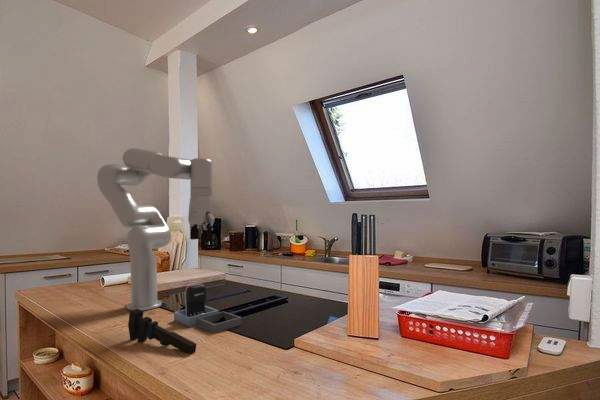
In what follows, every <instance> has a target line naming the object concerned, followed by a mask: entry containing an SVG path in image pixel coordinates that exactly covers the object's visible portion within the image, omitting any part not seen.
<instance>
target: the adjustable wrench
mask: <svg viewBox="0 0 600 400" xmlns="http://www.w3.org/2000/svg"><path fill="white" fill-rule="evenodd" d="M128 314H129V317H128V321H127V322H128V325H127V326H128V334H129V340H130V341H136V340H137V342H138V343H141V342H144V341H146V340H147V339H148V340H149V341H151V340H157V341H159V345H162V346H164V347H168V346H171V347H173V348H176V349H177V350H179V351H181V352H183V354H186V355H192V354H194V353H196V350H197V343H196V342H194V341H192V340H190V339H188V338H186V337H184V336H182V335H180V334H178V333H176V332H175V331H169V330H167V329H166V328H164V327H162V326H160V325H159V322H158V321H157V320H154V321H153V318H151V317H150V316H145V317H144V310H140V309H135V310H129V313H128Z"/></svg>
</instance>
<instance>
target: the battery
mask: <svg viewBox="0 0 600 400" xmlns="http://www.w3.org/2000/svg"><path fill="white" fill-rule="evenodd" d="M207 294H208V292H207V286H206V285H205V284H202V283H197V284H191V285H188V286H186V287H185V288H184V305H185V306H184V307H185V309H186V316H188V317H192V316H196V315H200V314H204V313H205V306H206V300H207V298H208V295H207Z"/></svg>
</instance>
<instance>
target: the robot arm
mask: <svg viewBox="0 0 600 400" xmlns="http://www.w3.org/2000/svg"><path fill="white" fill-rule="evenodd" d="M122 161H123V164H119V163H118V164H117V163H110V164H109V163H108V164H105V165H102V166H101V167H100V168H99V170H98V172H97V176H96V177H97V178H96V180H97V181H96V183H97V187H98V188H99V191H100V192H101V193H102V195H103V196H104V198H105V200H107V201H108V203H109V204H110V206H111V208H112V210H113V212H114V213H115V216H116V217H117V219H118V221H119V222H120V223H121V225H122V226H123V227H125V228H127V229H130V230H129V231H128V233H127V236H126V242H127V247H128V252H129V260H130V261H129V262H130V264H129V266H130V267H129V268H130V300H131V301H130V302H129V303H127V305H126V310H128V311H132V310H135V309H140V310H142V311H148V310H152V309H156V308H159V307H161V306H162V304H163V303H162V301H161V300H160V299H158V262H157V257H156V255H155V253H154V251H153V250H154V249H159V248H164V247H167V246H168V245H169V244H171V243H170V242H171V240H172V233H171V230H170V228H169V226H168V225H167V223H166V221H165V219H164V218H163V216H162V215H161V213H160V211H159V210H158V209H157V208H156V207H155V206H153V205H151V204H142V203H141V204H140V203H138V202H137V201H135V199H134V198H133V196H132V195H131V193H130V192H129V191H128V190H127V189H125V188H124V187H123V186H132V187H133V186H138V185H140V184H142V183H143V182H144V181H145V180H147V178H149V177H150V176H151V175H154V176H159V177H164V178H169V179H177V180H180V179H181V180H190V186H189V187H190V194H189V195H190V196H189V197H190V198H189V206H188V223H189V231H190V232H189V233H190V234H189V236H190V237H189V239H190V240H199V239H200V228H199V227H200V226H201V225H202V227H203V229H204V230H202V232H203V233H202V238H203V239H202V241H203V243H209V242H213V230H214V225H215V224H214V223H215V217H214V214H213V199H212V197H213V163H212V162H213V161H212V160H211V159H209V158H205V157H197V158H196V157H195V158H193V159H189V158H183V157H176V156H175V157H174V156H169V155H163V154H162V153H161V152H159V151H153V150H151V149H149V150H148V149H144V148H139V147H138V148H136V147H133V148H128V149H127V150H125V151H124V153H123V155H122Z"/></svg>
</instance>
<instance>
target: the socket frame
mask: <svg viewBox="0 0 600 400" xmlns="http://www.w3.org/2000/svg"><path fill="white" fill-rule="evenodd" d="M222 317H224V318H225V321H222V322H219V321H221V320H220V319H221V318H222ZM242 318H243V317H242V316H238V315H236V314H234V313H230V312H228V311H227V312H226V311H219V313H215V314H211V315H208V316H204V317H200V318H197V325H196V326H197V327H198V328H201V329H203V330H206V331H208V332H211V333H212V334H217V333H220V332H222V331H227V330H230V329H233V328H236V327H240V326H242V325H243V323H242ZM216 322H217V323H216Z"/></svg>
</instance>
